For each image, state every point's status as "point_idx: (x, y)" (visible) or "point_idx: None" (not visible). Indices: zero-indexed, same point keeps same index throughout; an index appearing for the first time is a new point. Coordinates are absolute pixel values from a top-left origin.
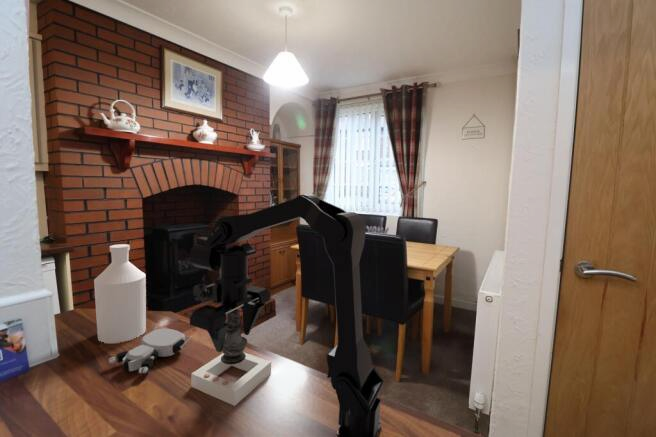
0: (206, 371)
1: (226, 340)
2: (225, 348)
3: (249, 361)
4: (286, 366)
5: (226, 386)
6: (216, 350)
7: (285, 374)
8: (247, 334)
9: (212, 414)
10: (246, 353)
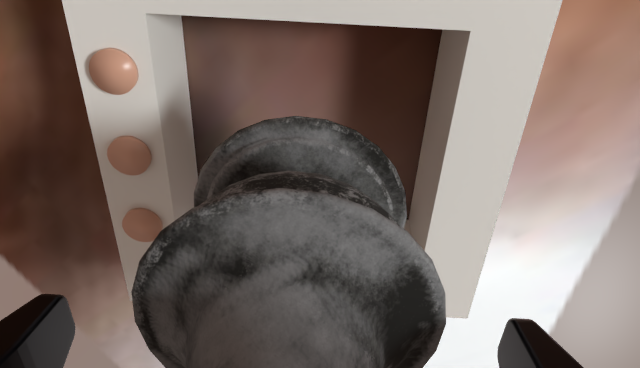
0: (157, 13)
1: (190, 341)
2: (141, 329)
3: (431, 203)
4: (544, 293)
5: (130, 245)
6: (32, 304)
7: (471, 314)
8: (500, 358)
9: (52, 197)
10: (519, 137)
